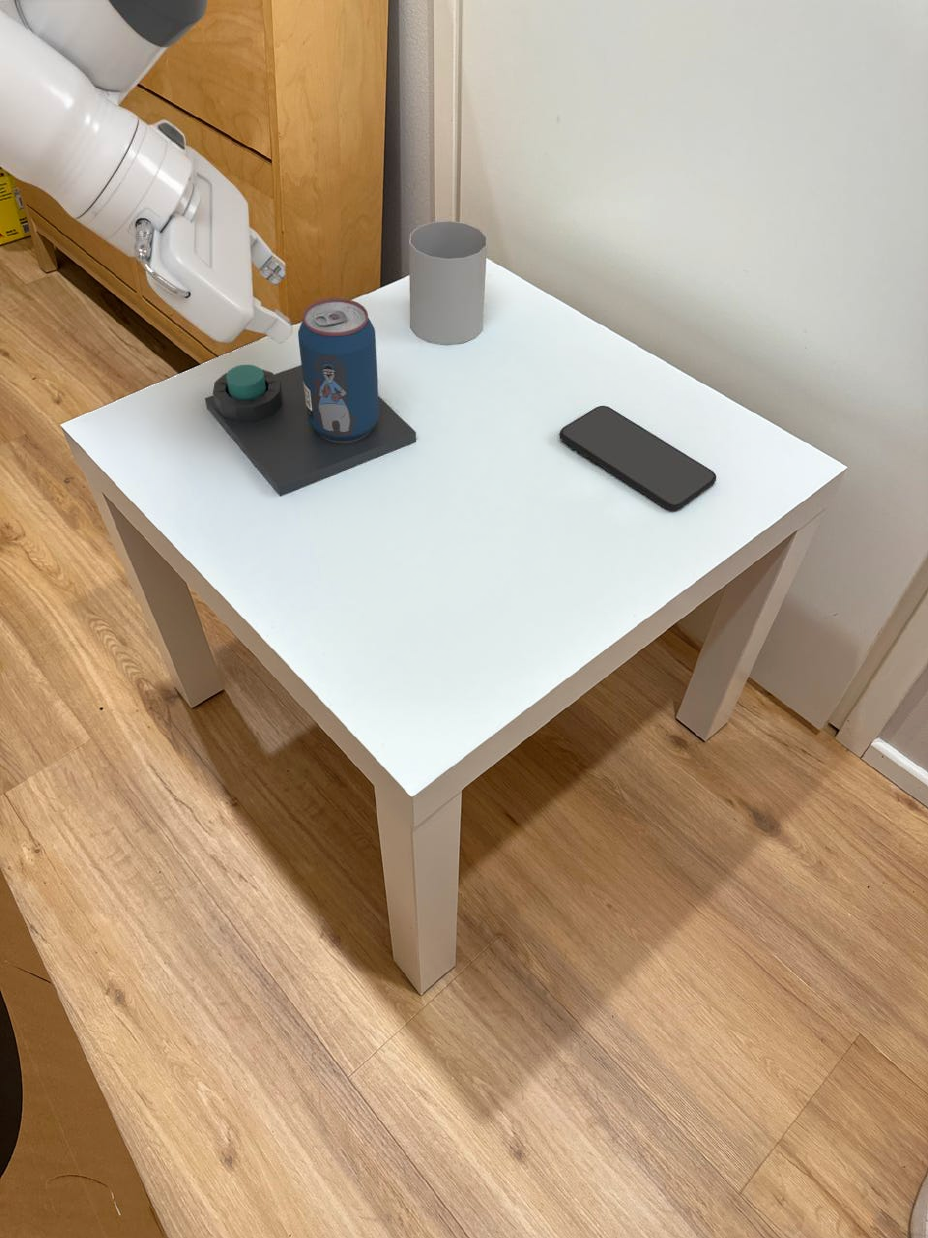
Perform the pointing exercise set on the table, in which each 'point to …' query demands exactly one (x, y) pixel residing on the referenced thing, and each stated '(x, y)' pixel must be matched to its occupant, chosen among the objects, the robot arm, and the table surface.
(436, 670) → the table surface
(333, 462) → the scale
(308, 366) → the soda can
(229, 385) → the tare button
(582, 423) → the smartphone
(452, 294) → the cup
